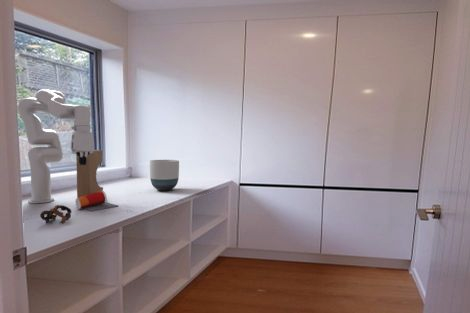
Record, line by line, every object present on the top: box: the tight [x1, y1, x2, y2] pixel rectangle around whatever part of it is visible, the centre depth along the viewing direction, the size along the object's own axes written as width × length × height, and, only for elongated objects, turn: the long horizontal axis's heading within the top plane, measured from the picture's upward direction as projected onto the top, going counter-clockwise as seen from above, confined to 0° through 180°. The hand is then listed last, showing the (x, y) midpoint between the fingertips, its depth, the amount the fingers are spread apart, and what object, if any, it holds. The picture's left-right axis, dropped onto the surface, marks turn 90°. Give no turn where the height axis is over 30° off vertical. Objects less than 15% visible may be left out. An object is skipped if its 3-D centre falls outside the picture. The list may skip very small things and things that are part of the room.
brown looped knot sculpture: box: [39, 204, 73, 224], centre depth 132 cm, size 12×10×8 cm
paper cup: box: [75, 190, 108, 209], centre depth 161 cm, size 8×8×14 cm
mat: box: [81, 201, 119, 212], centre depth 162 cm, size 14×15×1 cm
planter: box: [149, 159, 180, 192], centre depth 215 cm, size 20×20×21 cm
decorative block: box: [75, 149, 104, 199], centre depth 173 cm, size 15×8×30 cm, turn 176°
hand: (82, 164), depth 155 cm, fingers closed
